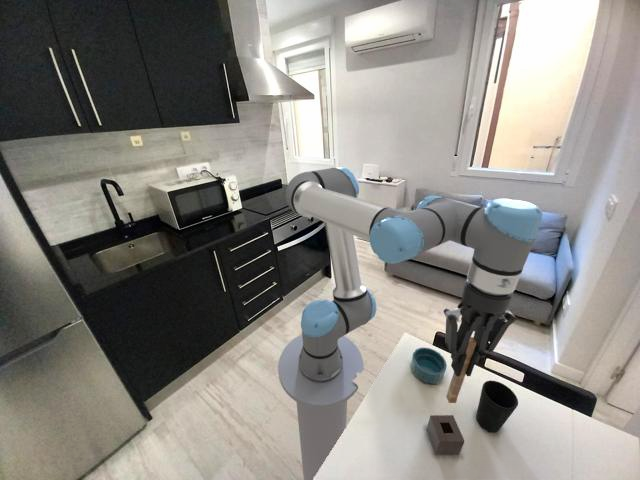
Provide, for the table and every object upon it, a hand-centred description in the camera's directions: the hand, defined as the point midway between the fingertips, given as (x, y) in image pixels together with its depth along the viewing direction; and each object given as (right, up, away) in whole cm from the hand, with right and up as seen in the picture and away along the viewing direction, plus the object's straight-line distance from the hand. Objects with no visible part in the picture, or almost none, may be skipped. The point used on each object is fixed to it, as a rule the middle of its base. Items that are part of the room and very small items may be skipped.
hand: (460, 370), depth 57 cm
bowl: (+4, -14, +28) cm, 31 cm away
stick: (0, -9, +5) cm, 10 cm away
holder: (0, -23, +9) cm, 25 cm away
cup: (+15, -21, +13) cm, 29 cm away
